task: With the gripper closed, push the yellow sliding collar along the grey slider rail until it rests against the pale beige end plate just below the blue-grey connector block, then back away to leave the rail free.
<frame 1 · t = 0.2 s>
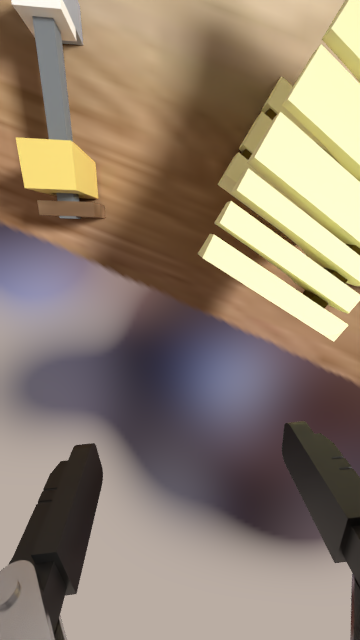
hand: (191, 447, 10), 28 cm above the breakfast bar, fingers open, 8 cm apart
tan flat end block: (74, 209, 30), on the breakfast bar
yellow sliding collar: (64, 173, 27), point 5 cm above the breakfast bar, slide at 0.0 cm
connector: (50, 2, 23), on the breakfast bar
grey slider rail: (57, 112, 25), point 4 cm above the breakfast bar
slatted curved stool: (293, 173, 33), on the breakfast bar
pale beige end plate: (46, 17, 22), point 4 cm above the breakfast bar
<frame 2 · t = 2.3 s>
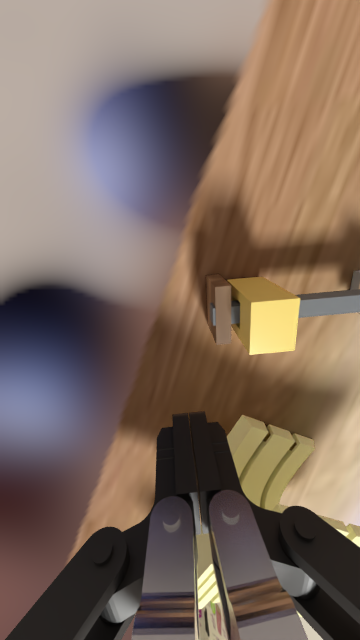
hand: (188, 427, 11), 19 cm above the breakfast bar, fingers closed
tan flat end block: (217, 307, 26), on the breakfast bar
yellow sliding collar: (256, 310, 25), point 5 cm above the breakfast bar, slide at 0.0 cm
grey slider rail: (309, 305, 25), point 4 cm above the breakfast bar
candy bar box: (196, 544, 47), on the breakfast bar
slatted curved stool: (251, 461, 40), on the breakfast bar
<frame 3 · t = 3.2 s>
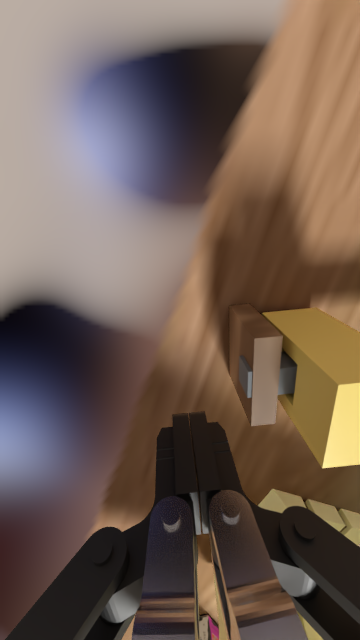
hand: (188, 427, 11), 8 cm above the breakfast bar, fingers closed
tan flat end block: (250, 359, 17), on the breakfast bar
yellow sliding collar: (318, 371, 15), point 5 cm above the breakfast bar, slide at 0.0 cm
candy bar box: (205, 629, 37), on the breakfast bar
slatted curved stool: (280, 541, 30), on the breakfast bar
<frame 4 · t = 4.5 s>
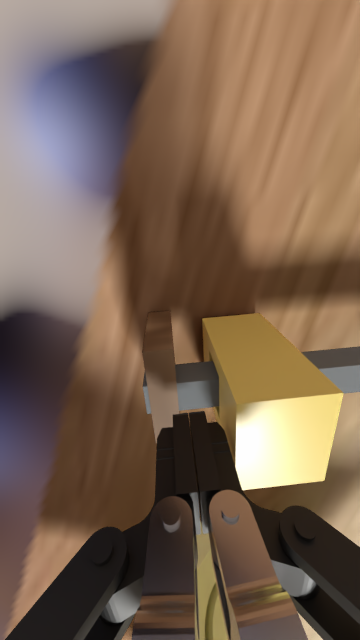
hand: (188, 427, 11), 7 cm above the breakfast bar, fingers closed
tan flat end block: (163, 370, 16), on the breakfast bar
yellow sliding collar: (250, 382, 14), point 5 cm above the breakfast bar, slide at 1.4 cm, touching gripper
grey slider rail: (318, 372, 14), point 4 cm above the breakfast bar
slatted curved stool: (233, 551, 29), on the breakfast bar
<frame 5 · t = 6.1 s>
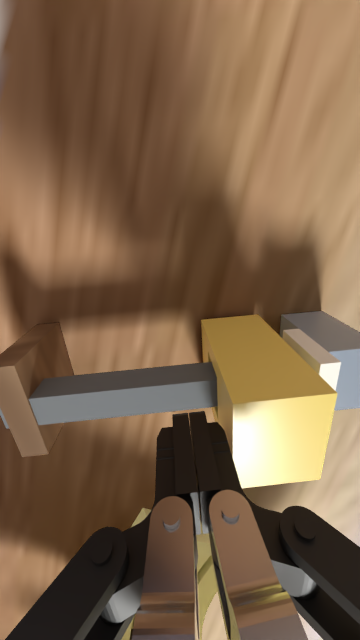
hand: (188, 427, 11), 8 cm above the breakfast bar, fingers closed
tan flat end block: (42, 383, 16), on the breakfast bar
yellow sliding collar: (248, 382, 14), point 5 cm above the breakfast bar, slide at 9.1 cm, touching gripper
connector: (320, 355, 16), on the breakfast bar
grey slider rail: (185, 386, 14), point 4 cm above the breakfast bar
slatted curved stool: (169, 559, 29), on the breakfast bar
pale beige end plate: (304, 374, 14), point 4 cm above the breakfast bar
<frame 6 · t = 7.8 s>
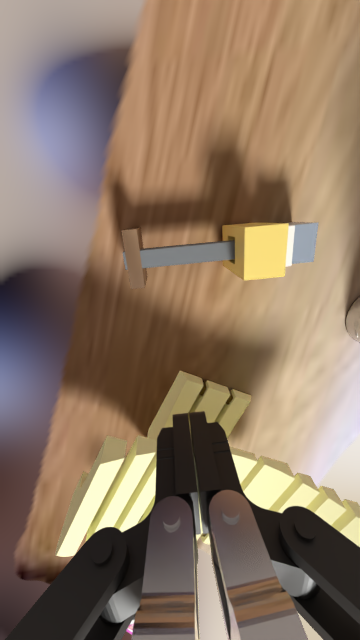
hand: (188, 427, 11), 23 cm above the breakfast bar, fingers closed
tan flat end block: (136, 256, 28), on the breakfast bar
yellow sliding collar: (250, 248, 27), point 5 cm above the breakfast bar, slide at 9.1 cm
connector: (289, 241, 29), on the breakfast bar
grey slider rail: (217, 251, 27), point 4 cm above the breakfast bar
slatted curved stool: (195, 419, 42), on the breakfast bar
pale beige end plate: (279, 244, 27), point 4 cm above the breakfast bar
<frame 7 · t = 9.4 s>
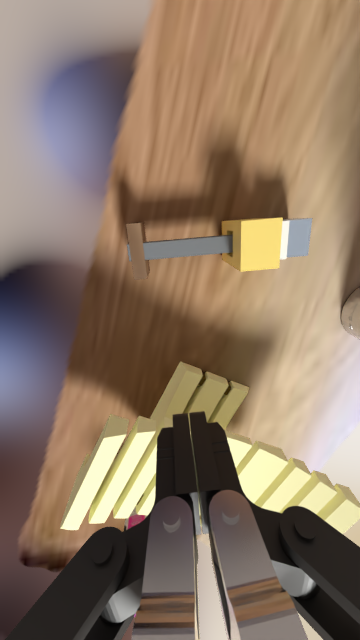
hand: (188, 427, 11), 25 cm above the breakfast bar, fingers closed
tan flat end block: (139, 249, 30), on the breakfast bar
yellow sliding collar: (247, 242, 28), point 5 cm above the breakfast bar, slide at 9.1 cm
connector: (285, 237, 30), on the breakfast bar
grey slider rail: (216, 244, 28), point 4 cm above the breakfast bar
slatted curved stool: (194, 409, 43), on the breakfast bar
pale beige end plate: (275, 239, 29), point 4 cm above the breakfast bar
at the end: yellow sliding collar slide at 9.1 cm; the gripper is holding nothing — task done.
